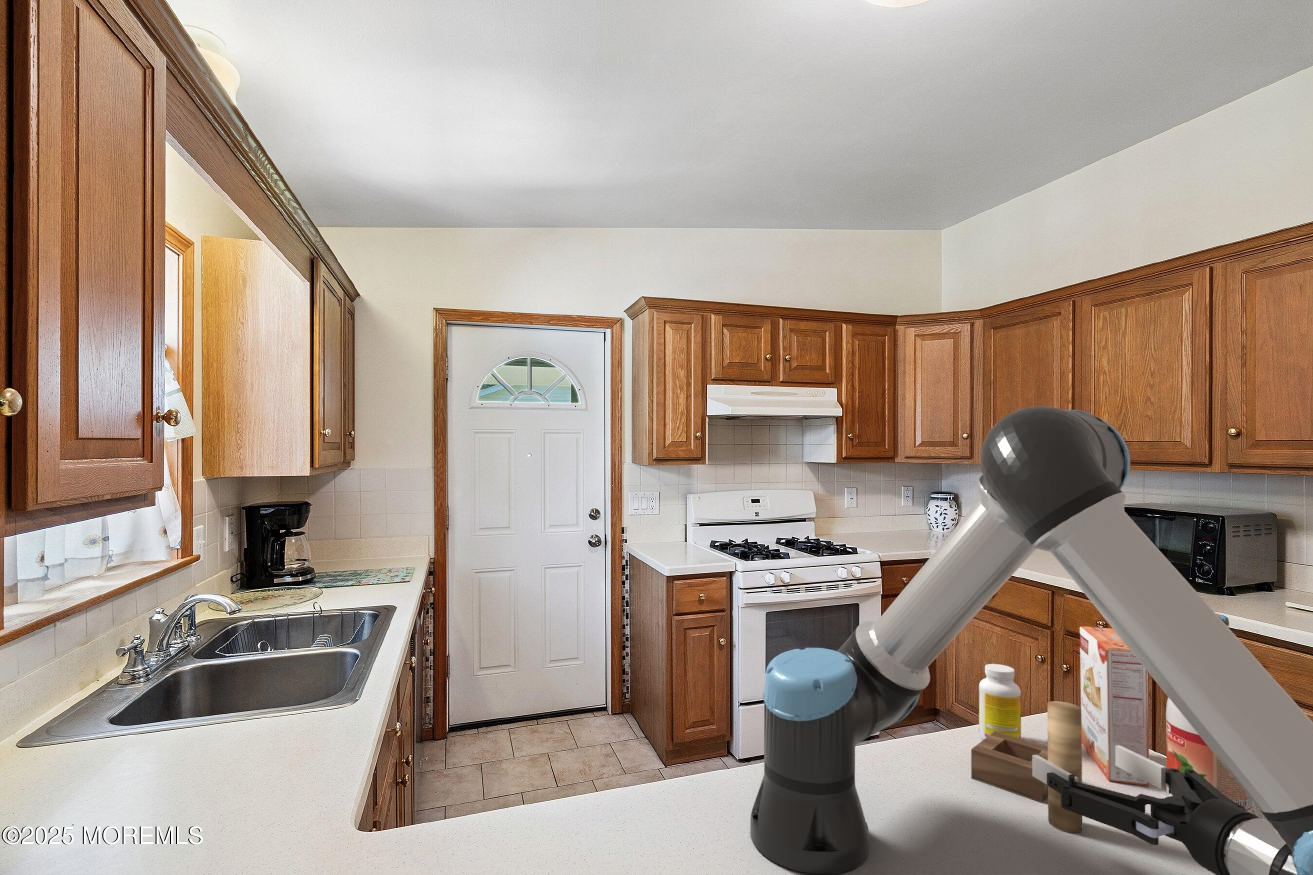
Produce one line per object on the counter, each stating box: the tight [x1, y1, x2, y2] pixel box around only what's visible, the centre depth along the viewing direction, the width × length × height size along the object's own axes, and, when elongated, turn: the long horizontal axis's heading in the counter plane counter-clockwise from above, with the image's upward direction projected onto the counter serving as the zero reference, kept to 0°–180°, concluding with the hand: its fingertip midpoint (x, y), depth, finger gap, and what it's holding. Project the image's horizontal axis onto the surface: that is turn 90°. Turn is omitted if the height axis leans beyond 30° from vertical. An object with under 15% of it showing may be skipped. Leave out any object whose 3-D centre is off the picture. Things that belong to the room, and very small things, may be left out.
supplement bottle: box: [978, 663, 1022, 741], centre depth 118 cm, size 7×7×13 cm
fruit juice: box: [1165, 613, 1253, 814], centre depth 96 cm, size 9×9×28 cm
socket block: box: [970, 731, 1048, 804], centre depth 104 cm, size 10×10×4 cm
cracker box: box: [1079, 626, 1151, 787], centre depth 110 cm, size 14×6×21 cm, turn 162°
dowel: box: [1047, 700, 1083, 834], centre depth 92 cm, size 4×4×16 cm
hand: (1076, 759), depth 90 cm, fingers open, 13 cm apart
